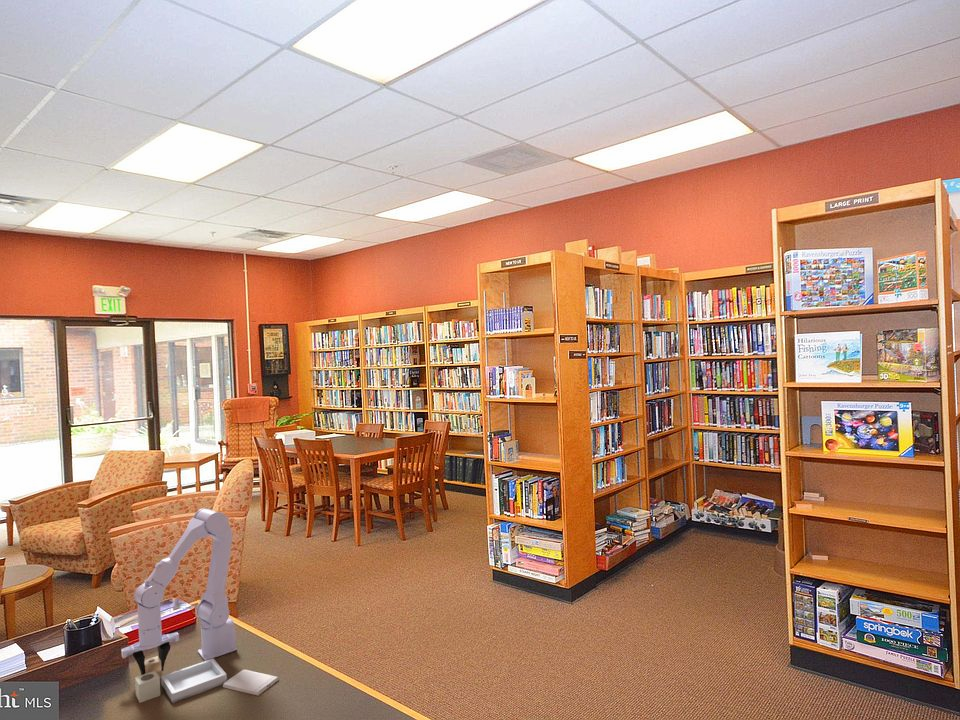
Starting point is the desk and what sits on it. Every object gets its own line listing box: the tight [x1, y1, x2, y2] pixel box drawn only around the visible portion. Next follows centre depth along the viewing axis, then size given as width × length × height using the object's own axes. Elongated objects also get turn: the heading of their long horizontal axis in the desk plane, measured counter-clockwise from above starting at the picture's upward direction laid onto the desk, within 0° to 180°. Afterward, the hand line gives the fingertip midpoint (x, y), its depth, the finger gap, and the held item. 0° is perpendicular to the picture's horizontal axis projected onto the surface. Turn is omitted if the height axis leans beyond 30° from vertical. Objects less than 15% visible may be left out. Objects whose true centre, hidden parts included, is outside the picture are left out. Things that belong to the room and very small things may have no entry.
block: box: [145, 655, 163, 680], centre depth 175 cm, size 4×4×5 cm
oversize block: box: [134, 671, 161, 704], centre depth 166 cm, size 5×5×5 cm
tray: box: [160, 658, 228, 704], centre depth 171 cm, size 14×12×2 cm
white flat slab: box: [222, 668, 280, 696], centre depth 170 cm, size 2×8×12 cm
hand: (152, 673), depth 175 cm, fingers closed on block, 4 cm apart
